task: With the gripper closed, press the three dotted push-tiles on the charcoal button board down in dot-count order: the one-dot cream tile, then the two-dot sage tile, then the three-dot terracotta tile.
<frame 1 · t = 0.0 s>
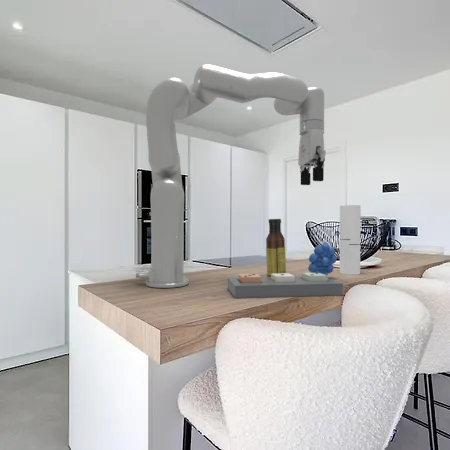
hand: (311, 183, 101), 31 cm above the table, tool pointing down, fingers open, 9 cm apart
tile one: (282, 280, 86), point 3 cm above the table, slide at 0.0 cm
cylindrical container: (349, 273, 118), on the table
tile two: (314, 279, 87), point 3 cm above the table, slide at 0.0 cm
button board: (282, 291, 86), on the table
sauce bottle: (275, 279, 105), on the table
grapes: (320, 279, 106), on the table
tile three: (249, 280, 84), point 3 cm above the table, slide at 0.0 cm
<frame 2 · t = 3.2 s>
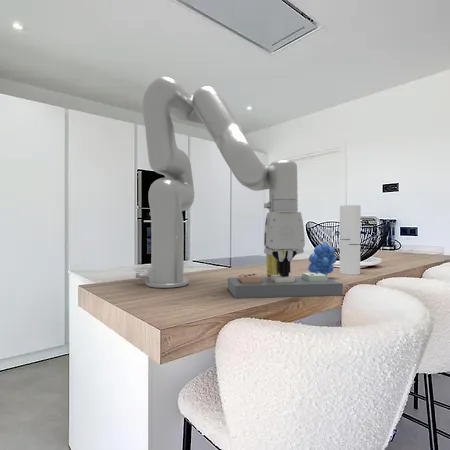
hand: (284, 275, 86), 4 cm above the table, tool pointing down, fingers closed
tile one: (282, 281, 86), point 3 cm above the table, slide at 0.4 cm, touching gripper
everything else where it was.
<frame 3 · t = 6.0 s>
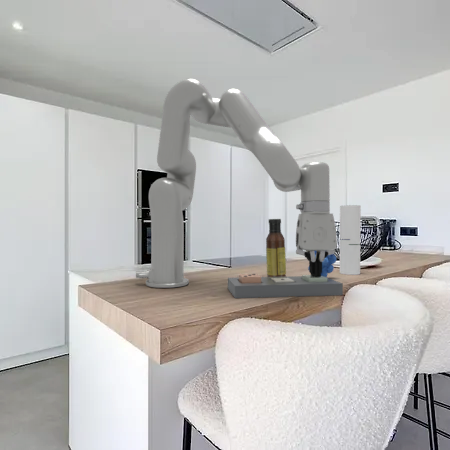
hand: (315, 275, 87), 4 cm above the table, tool pointing down, fingers closed
tile one: (282, 284, 86), point 2 cm above the table, slide at 1.3 cm
tile two: (314, 281, 87), point 2 cm above the table, slide at 0.6 cm, touching gripper
everything else where it was.
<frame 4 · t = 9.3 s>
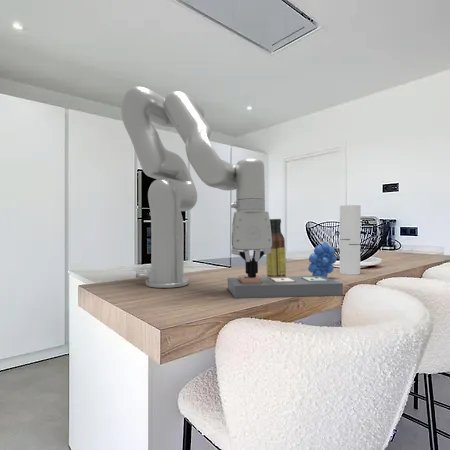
hand: (251, 276, 84), 4 cm above the table, tool pointing down, fingers closed
tile two: (314, 284, 87), point 2 cm above the table, slide at 1.3 cm
tile three: (249, 282, 84), point 3 cm above the table, slide at 0.4 cm, touching gripper
everything else where it was.
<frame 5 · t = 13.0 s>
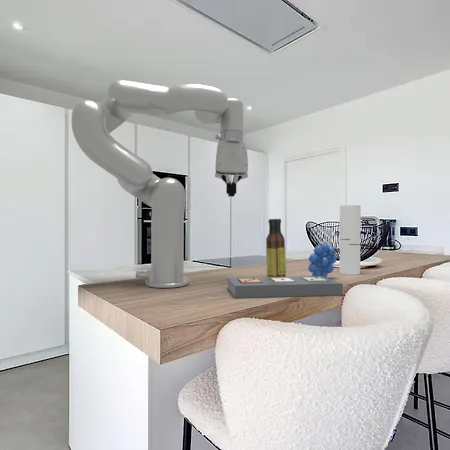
hand: (231, 196, 103), 27 cm above the table, tool pointing down, fingers closed
tile three: (249, 285, 84), point 2 cm above the table, slide at 1.3 cm
everything else where it was.
at the end: tile one slide at 1.3 cm; tile two slide at 1.3 cm; tile three slide at 1.3 cm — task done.
